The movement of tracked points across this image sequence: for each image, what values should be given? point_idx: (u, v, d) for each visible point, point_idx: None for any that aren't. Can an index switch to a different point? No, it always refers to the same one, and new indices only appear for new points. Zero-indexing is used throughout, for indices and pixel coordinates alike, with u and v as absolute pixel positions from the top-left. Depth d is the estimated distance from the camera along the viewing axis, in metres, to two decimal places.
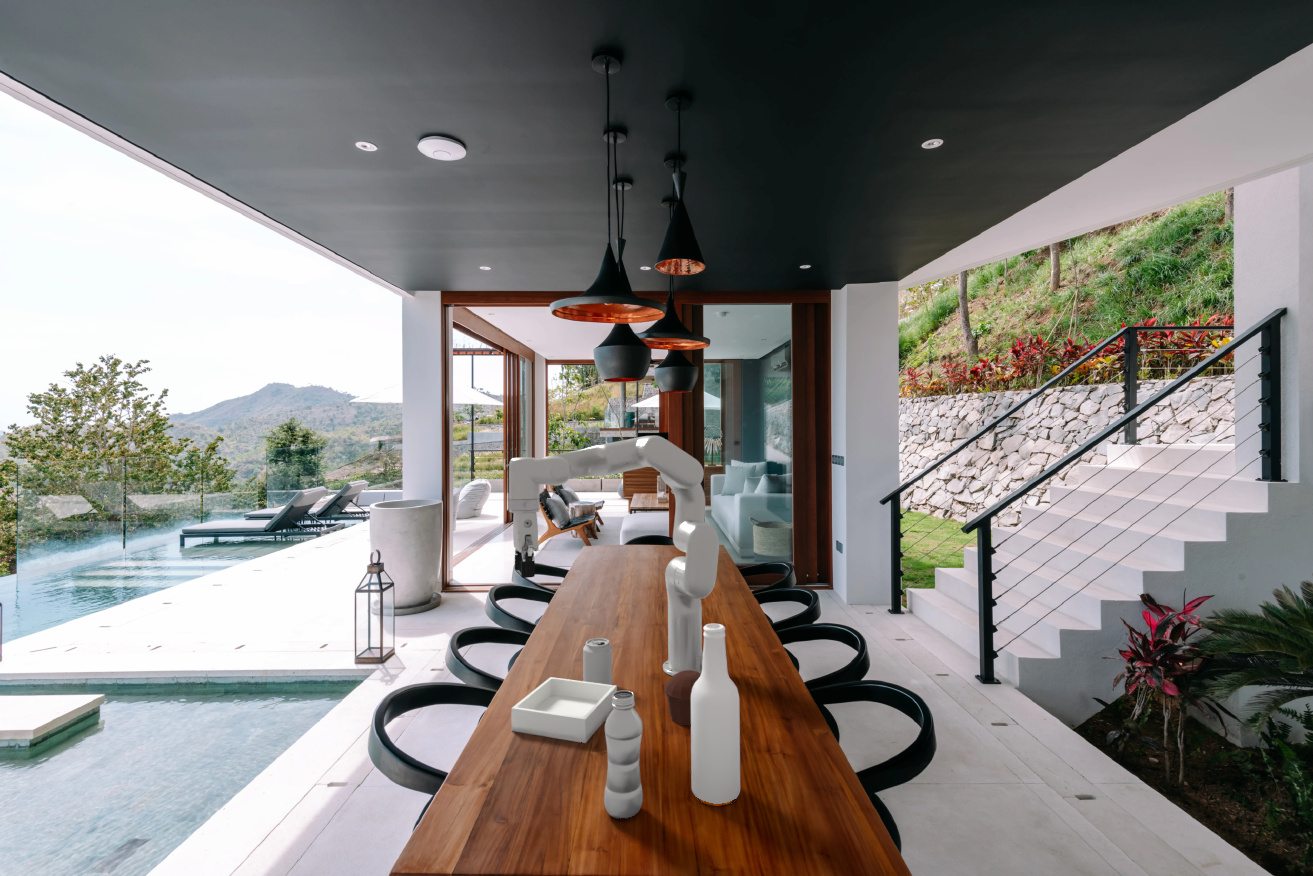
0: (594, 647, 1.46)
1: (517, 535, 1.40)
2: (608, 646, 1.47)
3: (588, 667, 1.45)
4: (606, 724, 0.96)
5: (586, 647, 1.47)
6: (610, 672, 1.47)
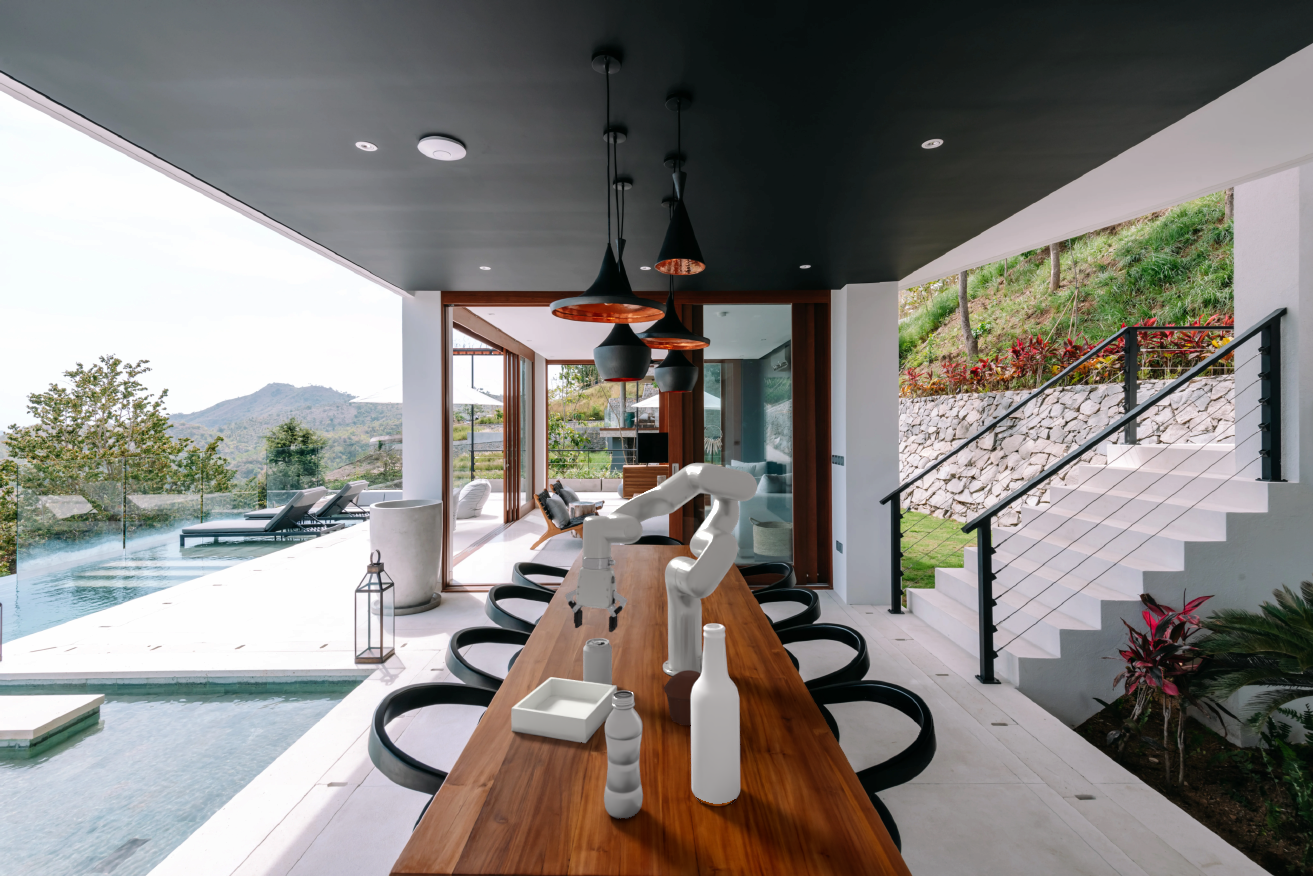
0: (594, 647, 1.46)
1: (604, 592, 1.46)
2: (608, 646, 1.47)
3: (588, 667, 1.45)
4: (606, 724, 0.96)
5: (586, 647, 1.47)
6: (610, 672, 1.47)
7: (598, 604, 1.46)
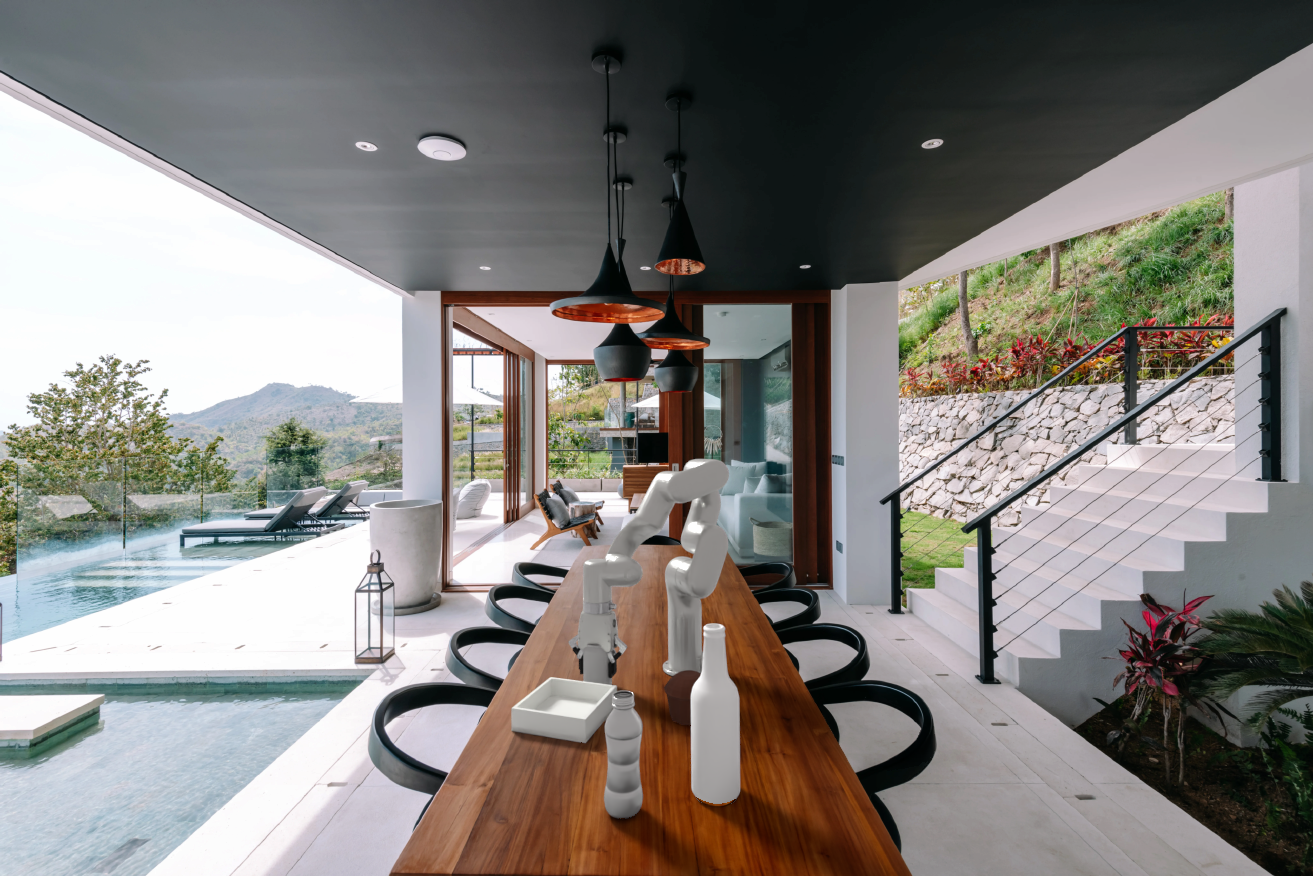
0: (594, 647, 1.46)
1: (605, 637, 1.45)
2: None
3: (588, 667, 1.45)
4: (606, 724, 0.96)
5: (586, 647, 1.47)
6: None
7: None
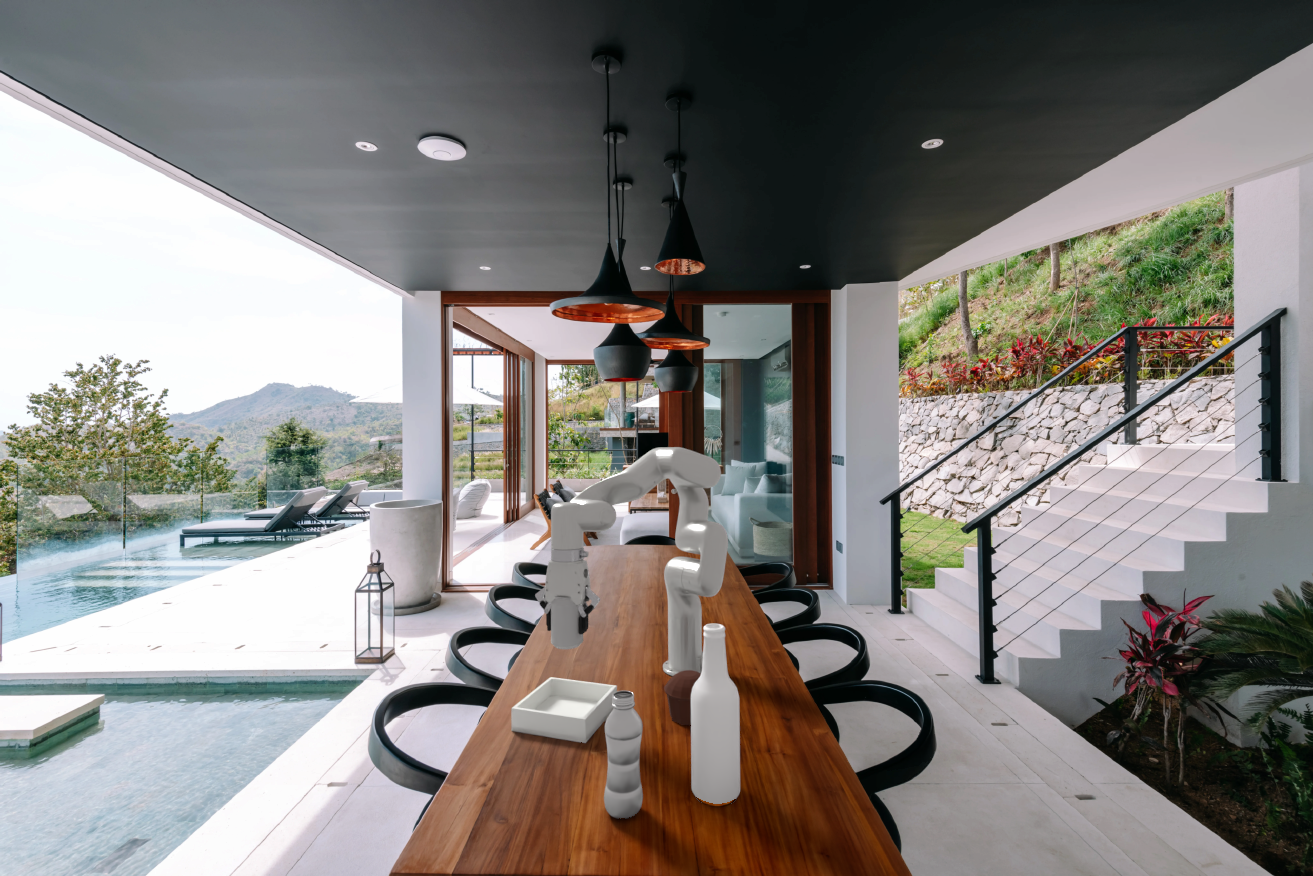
0: (562, 599, 1.29)
1: (575, 588, 1.29)
2: None
3: (555, 622, 1.29)
4: (606, 724, 0.96)
5: (554, 599, 1.31)
6: None
7: None
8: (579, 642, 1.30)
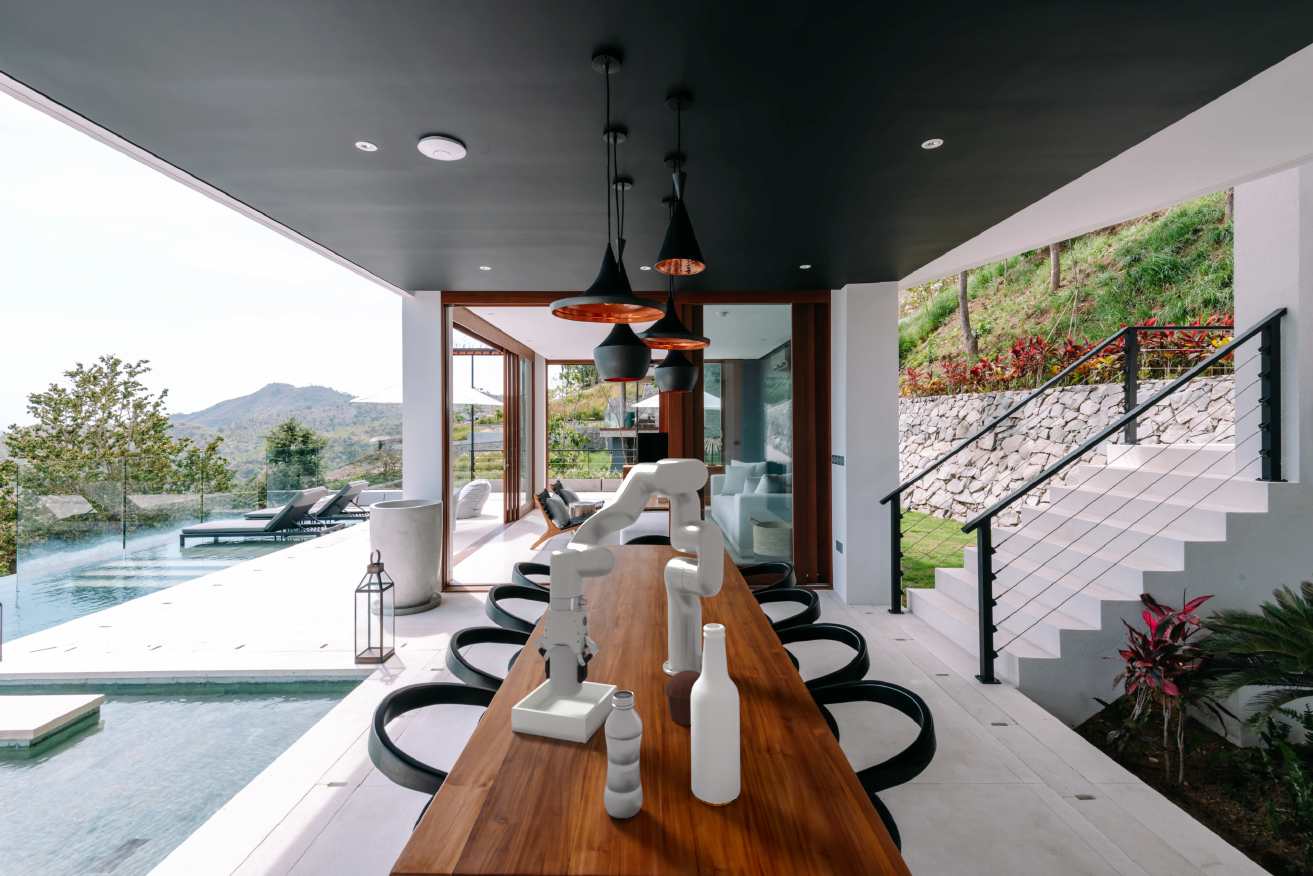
0: (561, 648, 1.28)
1: (574, 636, 1.28)
2: None
3: (554, 671, 1.28)
4: (606, 724, 0.96)
5: (553, 648, 1.30)
6: None
7: None
8: (578, 691, 1.29)
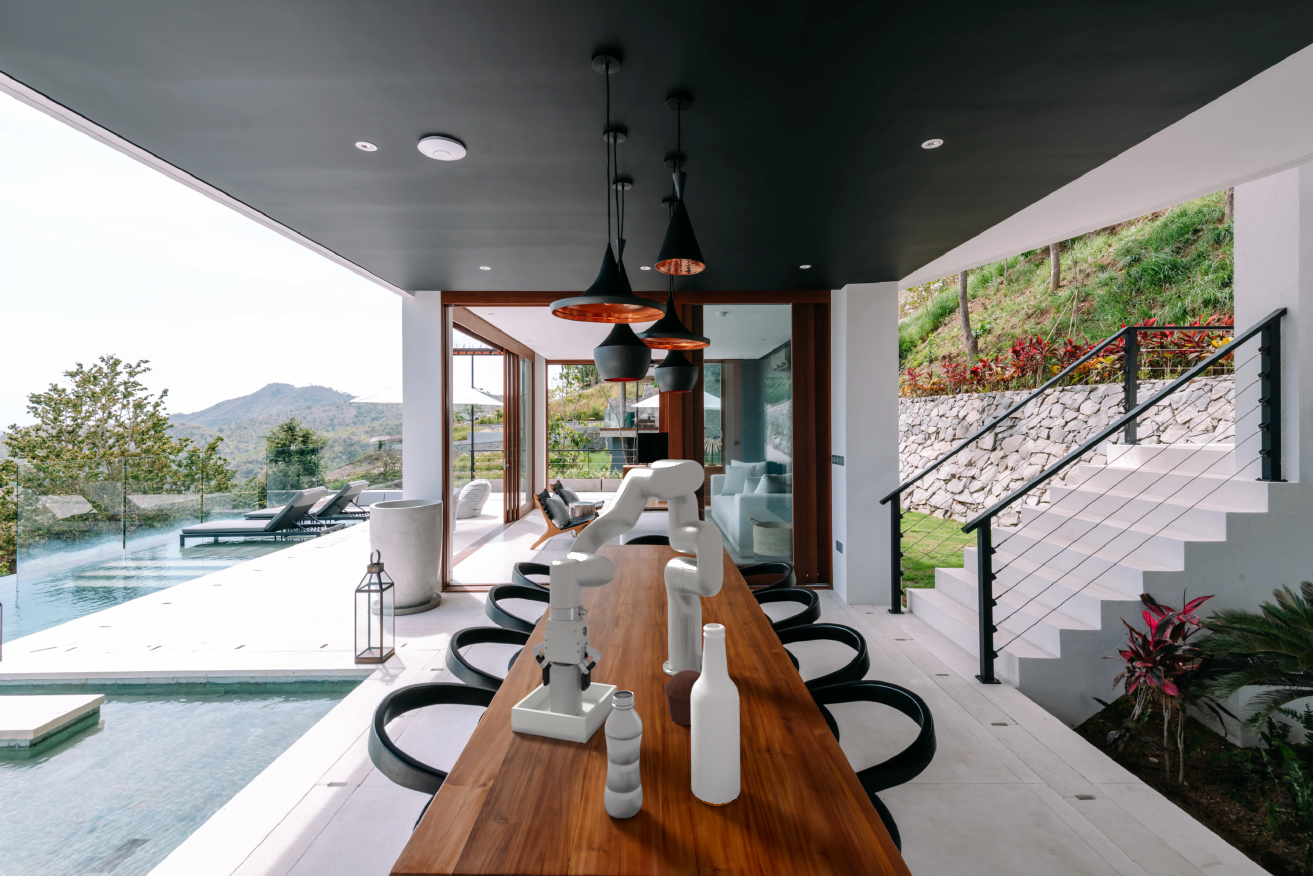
0: (562, 668, 1.29)
1: (574, 647, 1.28)
2: (578, 666, 1.31)
3: (555, 691, 1.28)
4: (606, 724, 0.96)
5: (553, 668, 1.30)
6: (580, 695, 1.31)
7: (568, 660, 1.29)
8: (579, 710, 1.30)
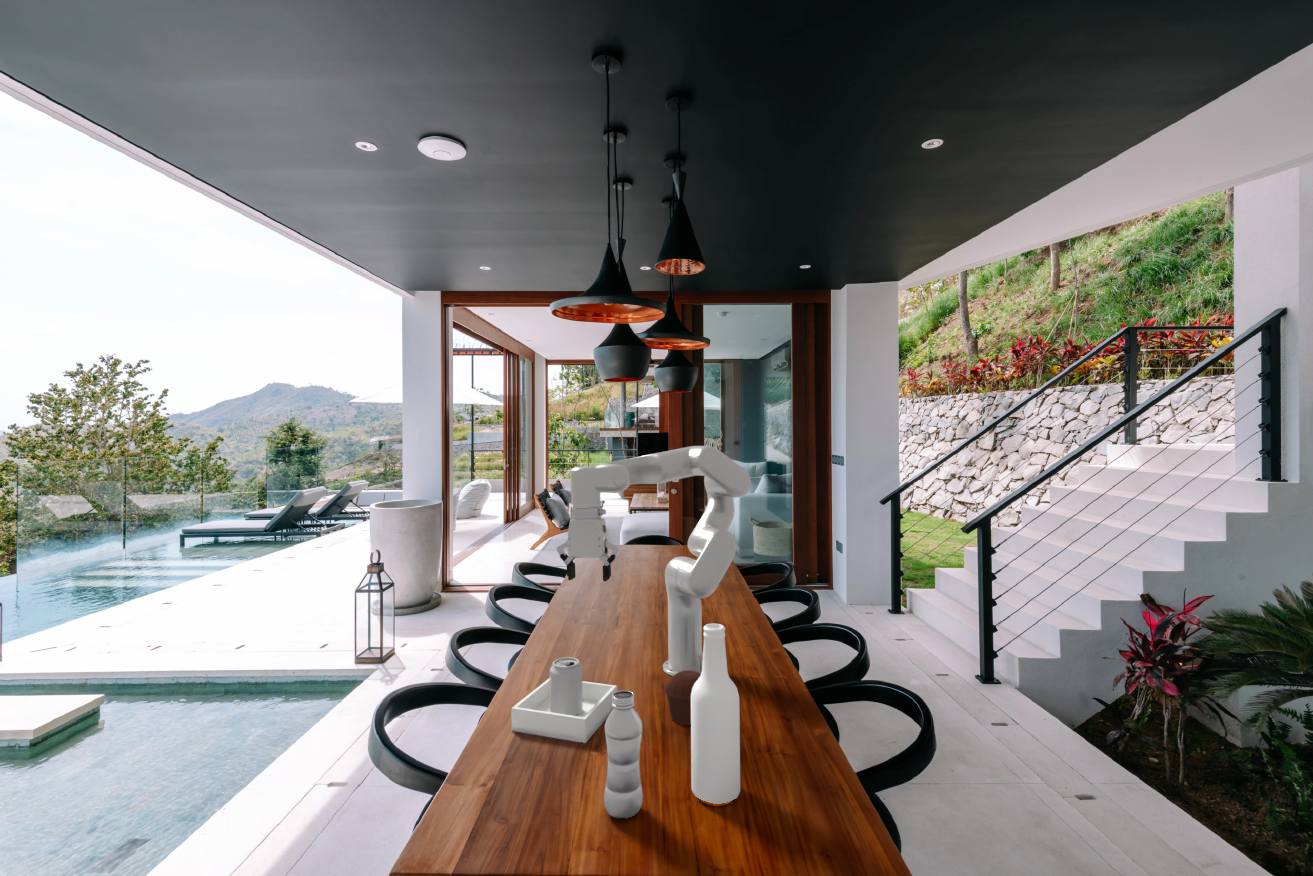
0: (562, 668, 1.29)
1: (595, 542, 1.44)
2: (578, 667, 1.31)
3: (555, 692, 1.28)
4: (606, 724, 0.96)
5: (553, 668, 1.30)
6: (581, 695, 1.31)
7: (591, 554, 1.44)
8: (579, 711, 1.30)
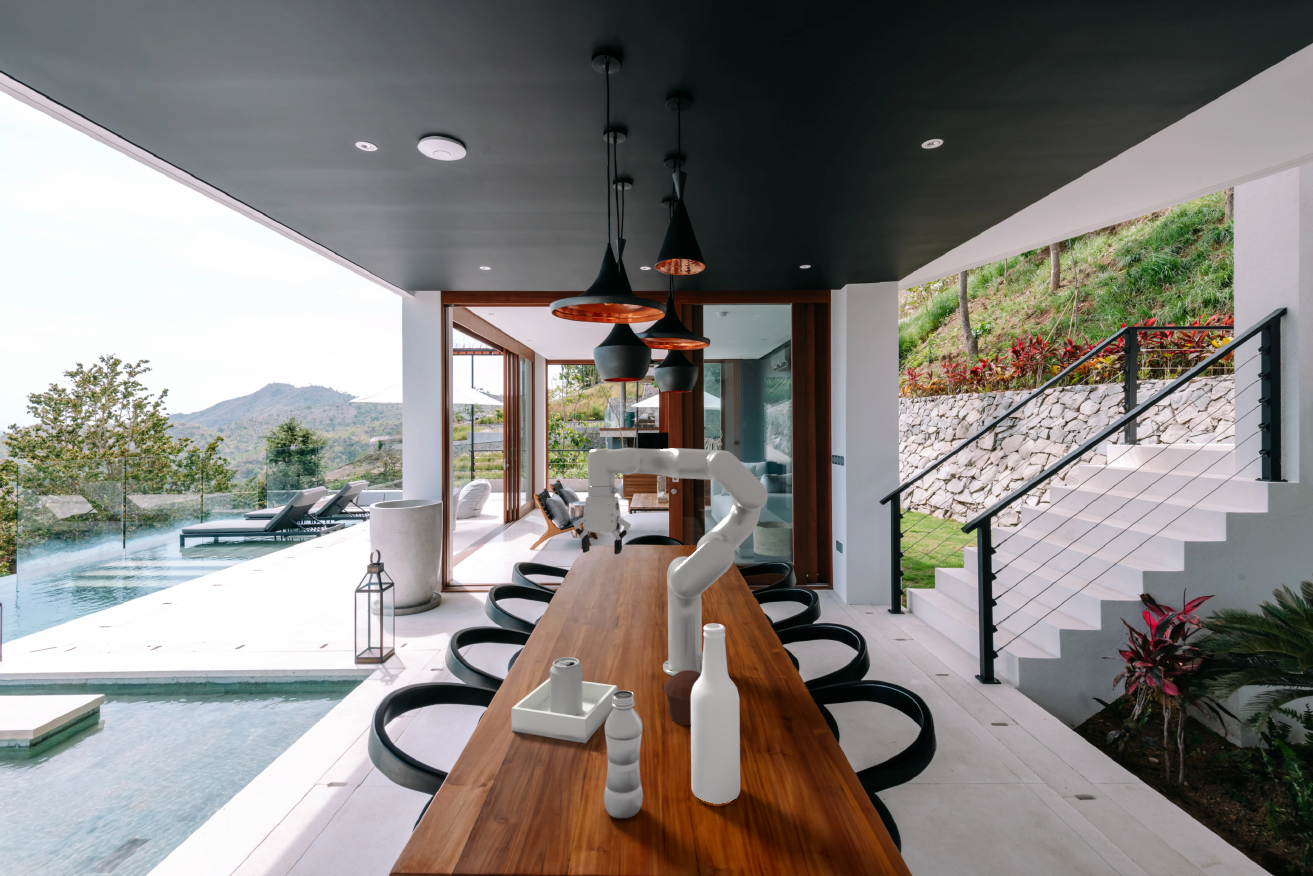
0: (562, 668, 1.29)
1: (609, 517, 1.56)
2: (578, 667, 1.31)
3: (555, 692, 1.28)
4: (606, 724, 0.96)
5: (553, 668, 1.30)
6: (581, 696, 1.31)
7: (604, 529, 1.57)
8: (579, 711, 1.30)
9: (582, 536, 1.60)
